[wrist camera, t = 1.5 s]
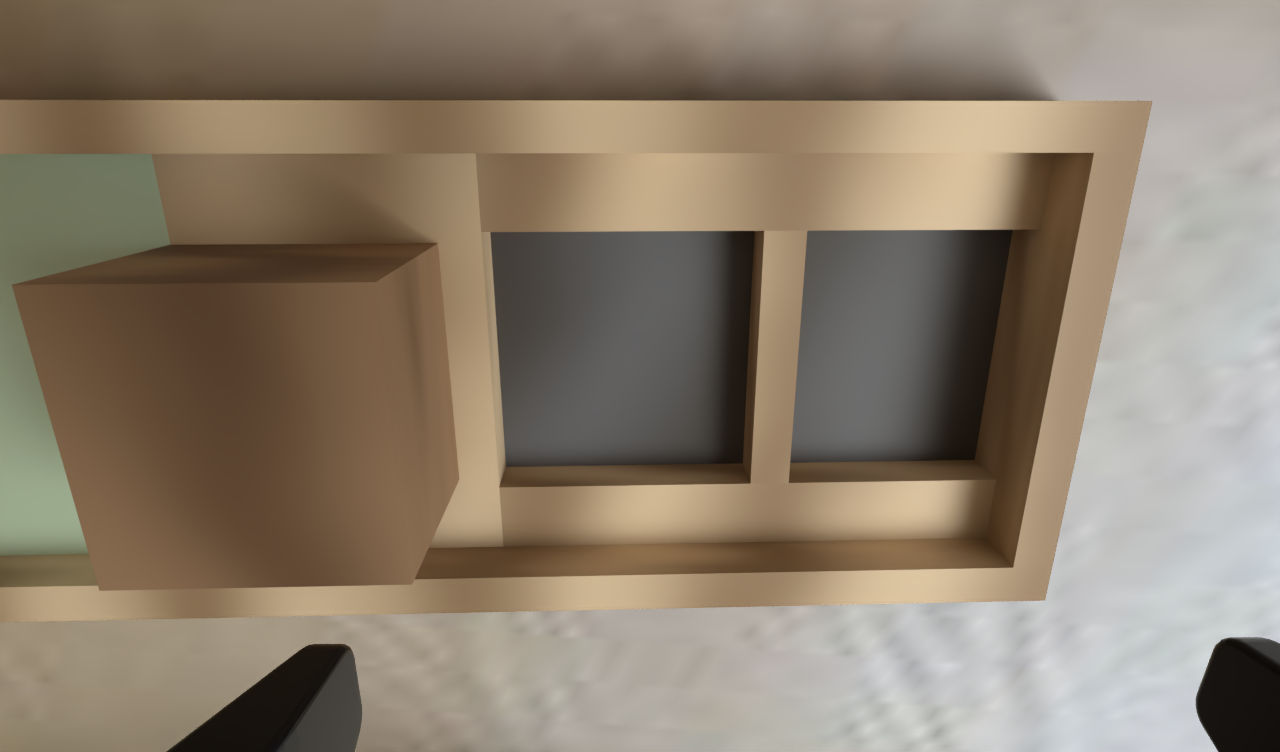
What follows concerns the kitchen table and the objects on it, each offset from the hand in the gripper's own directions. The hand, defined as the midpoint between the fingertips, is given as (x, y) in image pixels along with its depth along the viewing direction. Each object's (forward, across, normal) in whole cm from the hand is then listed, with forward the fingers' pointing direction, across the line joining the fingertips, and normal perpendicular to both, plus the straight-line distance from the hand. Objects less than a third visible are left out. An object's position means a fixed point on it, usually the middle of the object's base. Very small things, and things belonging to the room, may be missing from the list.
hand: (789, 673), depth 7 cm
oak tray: (+12, +6, +1) cm, 14 cm away
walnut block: (+11, +9, +1) cm, 14 cm away
